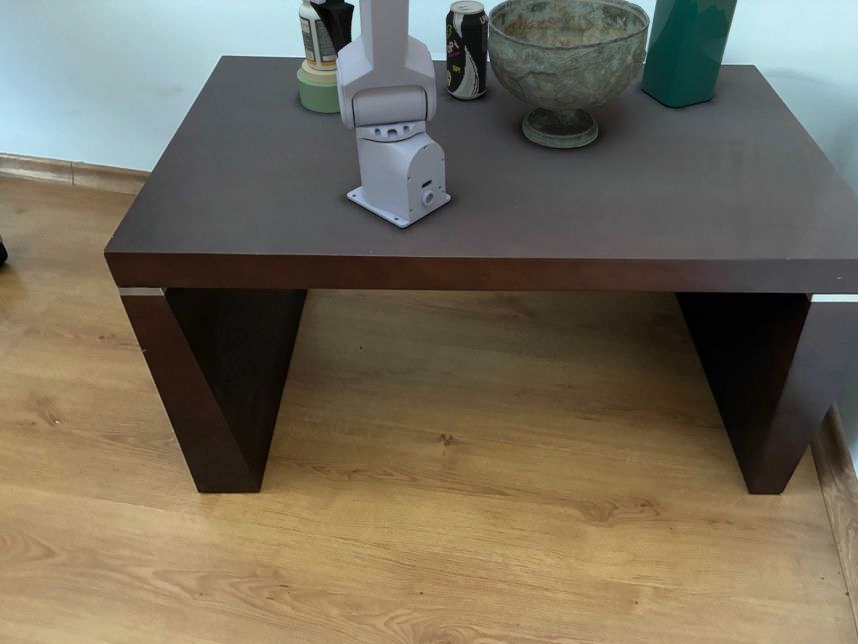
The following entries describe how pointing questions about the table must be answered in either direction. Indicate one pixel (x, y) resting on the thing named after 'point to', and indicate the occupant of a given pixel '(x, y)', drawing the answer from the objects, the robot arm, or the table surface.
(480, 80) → the beverage can
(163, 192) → the table surface
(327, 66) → the pill bottle
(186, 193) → the table surface
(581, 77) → the bowl
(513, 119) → the table surface
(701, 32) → the pitcher
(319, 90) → the squat jar
